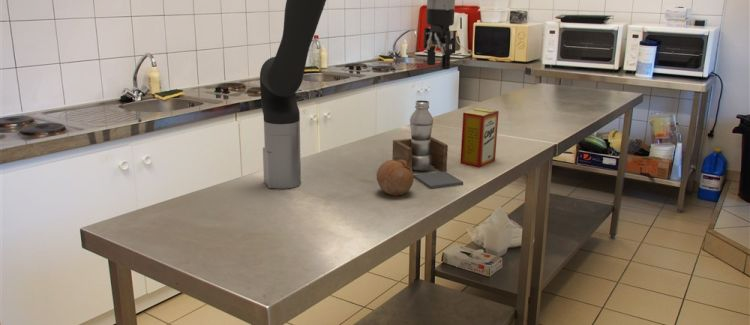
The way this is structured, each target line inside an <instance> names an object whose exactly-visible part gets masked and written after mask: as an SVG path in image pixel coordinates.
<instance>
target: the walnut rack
mask: <svg viewBox="0 0 750 325" xmlns="http://www.w3.org/2000/svg"><path fill="white" fill-rule="evenodd" d="M411 139H412V138H403V139H402V138H401V139H393V140H392V159H391V160H406V161H407V163H408V164H409V165H410V168H411V165H412V148H411ZM430 140H431V141H430V147H431V157H432V165H431V167H433V168H434V169H436V170H438V172H444V171H446V172H447V170H448V169H447V167H448V150H449V149H448V148H449V145H448V144H446V143H444V142H443V141H441V140H438V139H436V137H432V136H431V139H430Z"/></svg>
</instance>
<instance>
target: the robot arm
mask: <svg viewBox="0 0 750 325" xmlns="http://www.w3.org/2000/svg"><path fill="white" fill-rule="evenodd" d="M326 2H327V0H286V2H285V7H284V15H283V16H284V19H283V30H282V37H281V41H280V43H279V46H278V48H277V52H276V53H275V56H272V57H270V58H268V59H267V60H265V61H264V63H263V64H262V66H261V68H260V72H259V87H260V88H259V89H260V105H261V110H262V115H263V134H264V136H263V137H264V147H262V161H263V162H262V163H263V167H262V168H263V182H264V184H265V185H266V187H268V189H278V190H279V189H281V190H283V189H293V188H295V187H298V186H300V185H301V183H302V171H301V163H302V162H301V121H300V119H301V118H300V117H301V114H300V109H299V108H300V107H299V106H298V102H297V95H296V94H297V91H298V90H299V89H300V87H301V85H302V83H303V78H304V74H305V71H306V70H305V68H306V64H307V60H308V56H309V51H310V47H311V44H312V41H313V39H314V36H315V33H316V30H317V28H318V26H319V22H320V19H321V16H322V14H323V11H324V9H325V5H326ZM455 6H456V0H426V17H425V18H426V19H425V20H426V22H425V23H426V24H427V26H428V27H427V26H426V27H424V29H423V30H424V31H423V44H422V45H423V46H422V47H423V49H425V50H426V52H427V53H426V64H427V65H428V66H435V64H436V50H437V48H438V49H440V51H441V65H440V66H441V68H440V69H442V70H449V69H450V65H451V56H452V55H454V54H455V53H456V42H457V32H456V30H450V27H451V26H453V25H454V23H455V10H456V9H455ZM429 26H430V27H429Z"/></svg>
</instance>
